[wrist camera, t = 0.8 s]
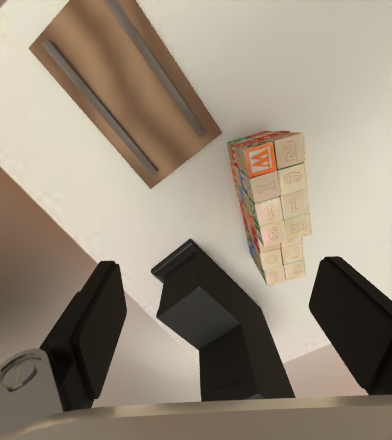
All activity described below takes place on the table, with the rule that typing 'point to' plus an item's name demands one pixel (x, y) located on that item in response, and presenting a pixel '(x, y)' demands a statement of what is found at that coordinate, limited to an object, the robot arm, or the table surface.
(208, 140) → the slot board
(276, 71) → the table surface
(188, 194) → the table surface
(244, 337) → the bookend
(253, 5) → the table surface
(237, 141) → the stack of blocks
